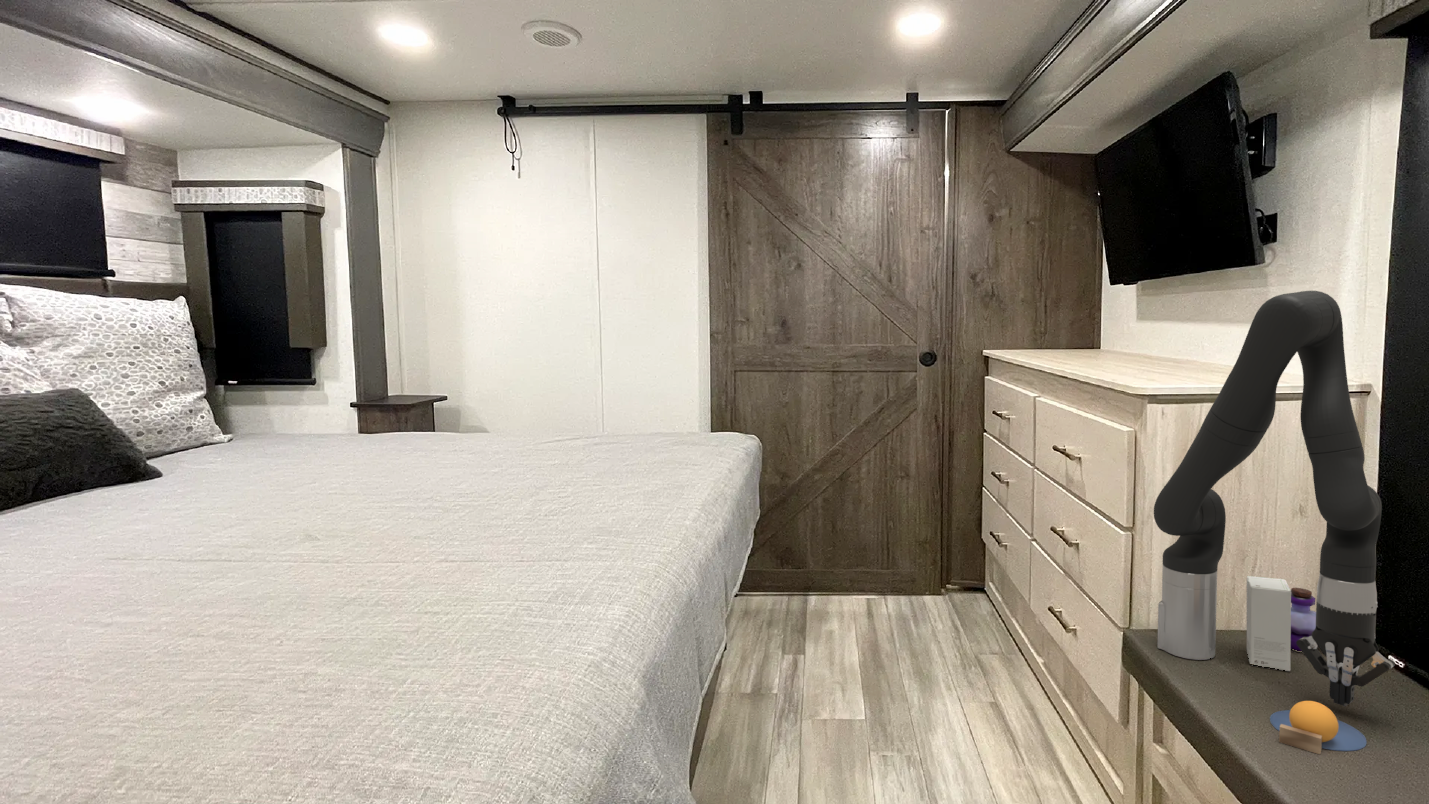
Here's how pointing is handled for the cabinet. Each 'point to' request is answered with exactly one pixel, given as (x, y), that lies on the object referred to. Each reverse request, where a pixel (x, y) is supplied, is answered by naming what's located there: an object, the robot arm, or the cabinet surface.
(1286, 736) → the wall
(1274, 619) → the skincare box
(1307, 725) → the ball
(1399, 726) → the cabinet surface
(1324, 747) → the disc
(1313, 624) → the potion bottle
